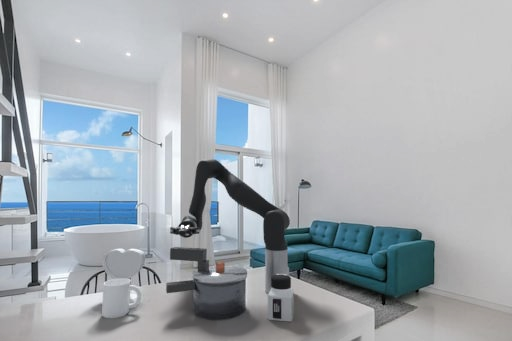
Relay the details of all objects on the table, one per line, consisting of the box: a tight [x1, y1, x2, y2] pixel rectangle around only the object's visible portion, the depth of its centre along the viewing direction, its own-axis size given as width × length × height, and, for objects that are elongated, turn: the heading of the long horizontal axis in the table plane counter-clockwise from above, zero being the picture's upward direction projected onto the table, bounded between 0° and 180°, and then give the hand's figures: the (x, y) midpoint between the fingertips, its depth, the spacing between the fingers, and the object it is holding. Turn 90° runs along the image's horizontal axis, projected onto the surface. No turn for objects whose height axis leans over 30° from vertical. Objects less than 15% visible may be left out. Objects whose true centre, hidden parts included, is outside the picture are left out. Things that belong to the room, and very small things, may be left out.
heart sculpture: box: [101, 247, 146, 300], centre depth 111 cm, size 16×5×18 cm, turn 89°
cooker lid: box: [169, 246, 248, 284], centre depth 101 cm, size 28×19×9 cm, turn 76°
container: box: [267, 274, 295, 323], centre depth 94 cm, size 8×8×13 cm
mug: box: [101, 278, 142, 319], centre depth 95 cm, size 12×8×10 cm
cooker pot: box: [165, 278, 247, 321], centre depth 98 cm, size 27×18×11 cm, turn 111°
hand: (181, 233), depth 112 cm, fingers closed
